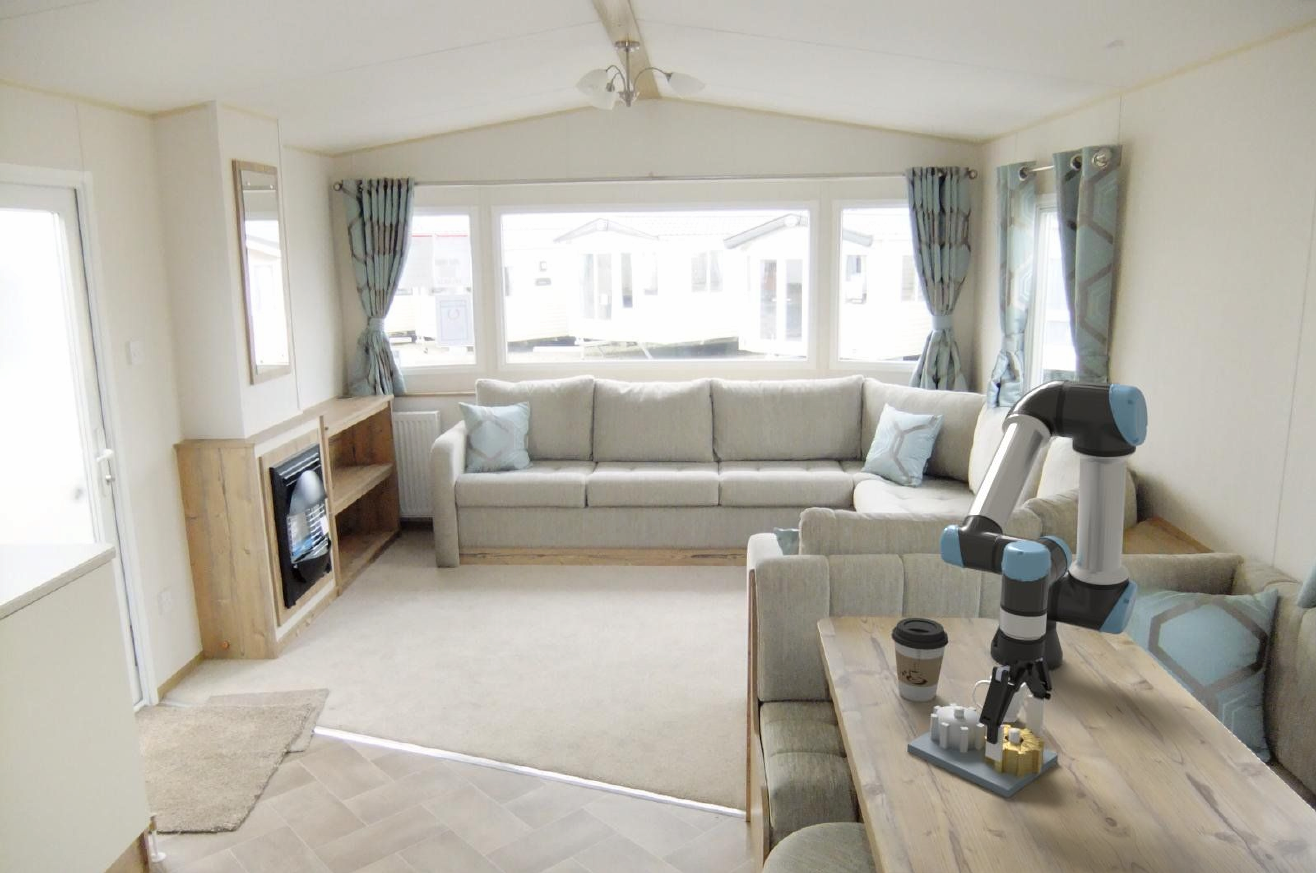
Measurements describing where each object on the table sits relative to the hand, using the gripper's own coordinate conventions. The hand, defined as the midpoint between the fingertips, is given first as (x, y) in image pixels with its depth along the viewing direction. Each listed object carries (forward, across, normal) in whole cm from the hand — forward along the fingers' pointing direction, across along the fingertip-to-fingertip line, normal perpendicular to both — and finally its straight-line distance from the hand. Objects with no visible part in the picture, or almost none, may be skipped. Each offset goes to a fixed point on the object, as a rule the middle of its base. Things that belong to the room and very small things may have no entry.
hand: (1014, 744), depth 165 cm
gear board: (+5, 0, -6) cm, 8 cm away
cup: (+5, -16, -12) cm, 20 cm away
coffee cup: (+5, -12, -28) cm, 31 cm away
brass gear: (+3, 0, 0) cm, 3 cm away
